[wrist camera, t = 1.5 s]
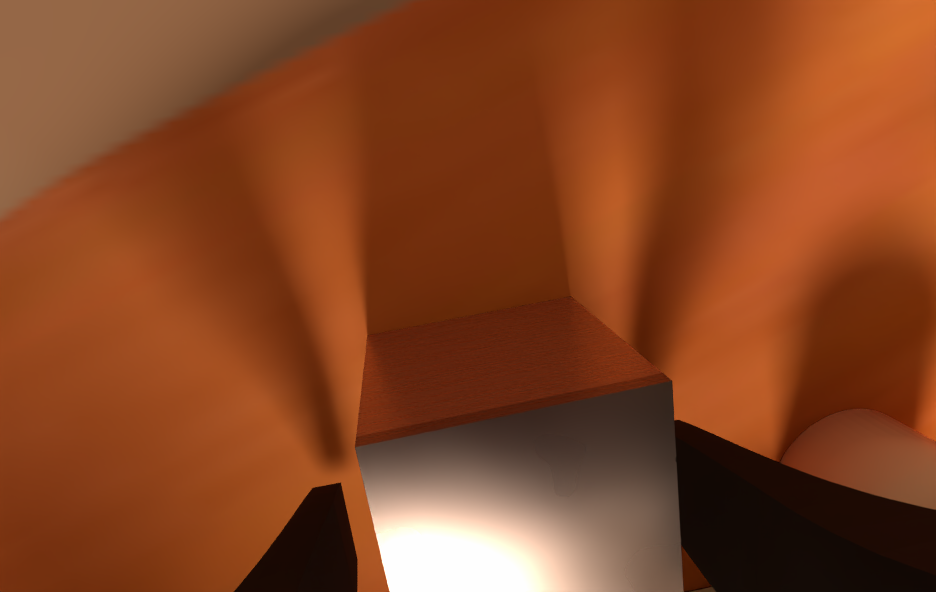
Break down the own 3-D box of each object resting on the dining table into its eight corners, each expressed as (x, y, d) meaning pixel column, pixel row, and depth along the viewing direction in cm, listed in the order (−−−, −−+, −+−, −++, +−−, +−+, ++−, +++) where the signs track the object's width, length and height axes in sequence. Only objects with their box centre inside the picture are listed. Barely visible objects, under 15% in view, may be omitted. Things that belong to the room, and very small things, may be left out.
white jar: (763, 560, 16) (901, 713, 12) (768, 418, 15) (924, 531, 10) (907, 528, 16) (1090, 664, 12) (923, 387, 15) (1135, 485, 11)
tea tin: (424, 593, 15) (442, 807, 10) (367, 333, 13) (354, 447, 8) (596, 552, 15) (691, 739, 10) (569, 294, 13) (672, 380, 8)
